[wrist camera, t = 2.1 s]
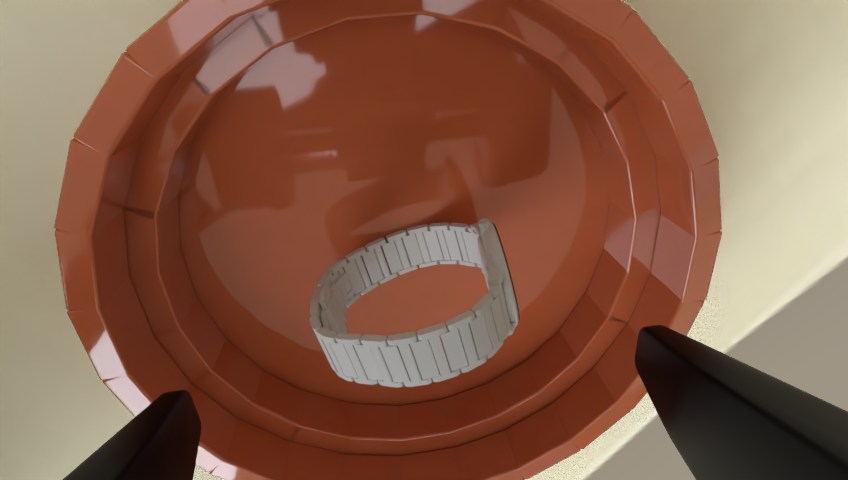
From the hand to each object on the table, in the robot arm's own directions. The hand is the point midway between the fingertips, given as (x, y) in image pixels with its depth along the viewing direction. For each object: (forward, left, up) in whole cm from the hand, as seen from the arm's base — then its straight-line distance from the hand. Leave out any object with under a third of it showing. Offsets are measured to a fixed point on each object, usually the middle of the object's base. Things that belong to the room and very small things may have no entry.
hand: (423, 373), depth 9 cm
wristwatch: (0, 0, -6) cm, 6 cm away
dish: (0, 0, -6) cm, 6 cm away
